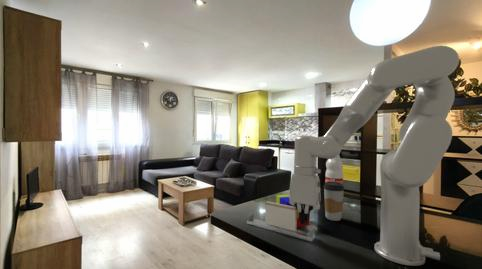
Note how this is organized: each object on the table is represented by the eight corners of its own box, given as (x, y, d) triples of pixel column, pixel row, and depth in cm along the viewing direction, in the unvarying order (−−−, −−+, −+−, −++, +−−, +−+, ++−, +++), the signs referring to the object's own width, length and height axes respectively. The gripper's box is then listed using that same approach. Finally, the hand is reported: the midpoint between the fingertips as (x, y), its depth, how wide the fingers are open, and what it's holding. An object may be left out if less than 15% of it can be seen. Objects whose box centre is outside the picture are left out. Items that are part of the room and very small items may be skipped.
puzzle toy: (286, 227, 87) (287, 202, 87) (275, 218, 97) (276, 195, 97) (309, 225, 90) (309, 200, 90) (296, 216, 100) (297, 193, 100)
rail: (314, 237, 79) (315, 229, 79) (311, 241, 76) (311, 232, 76) (251, 220, 94) (251, 213, 94) (246, 223, 91) (246, 216, 91)
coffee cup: (346, 218, 98) (347, 183, 98) (339, 223, 92) (340, 186, 92) (327, 213, 104) (328, 180, 104) (319, 218, 98) (320, 183, 98)
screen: (296, 229, 82) (296, 207, 82) (295, 231, 81) (295, 208, 81) (266, 222, 89) (267, 201, 89) (265, 223, 87) (265, 202, 87)
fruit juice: (344, 197, 131) (345, 149, 131) (340, 201, 124) (340, 150, 124) (328, 194, 137) (328, 148, 137) (322, 198, 130) (323, 149, 130)
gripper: (329, 172, 78) (328, 225, 79) (288, 167, 87) (287, 215, 87) (324, 175, 72) (322, 232, 72) (280, 170, 81) (279, 221, 81)
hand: (303, 223), depth 80 cm, fingers closed
